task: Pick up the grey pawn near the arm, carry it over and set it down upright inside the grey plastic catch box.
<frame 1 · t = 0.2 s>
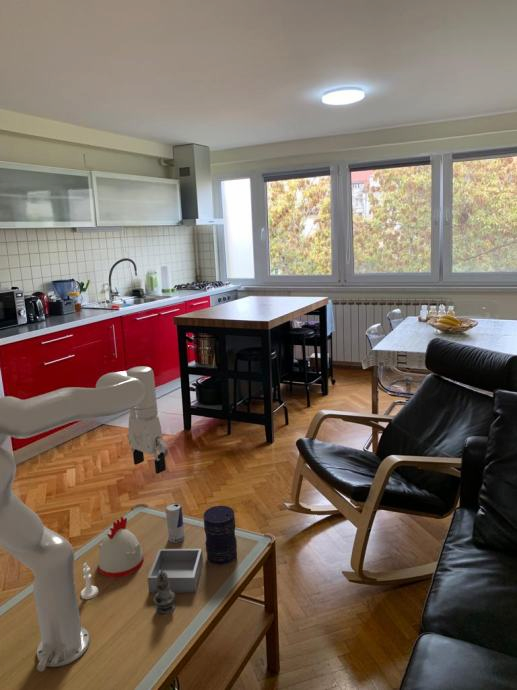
hand: (149, 467, 149), 36 cm above the table, tool pointing down, fingers open, 9 cm apart
kitchen timer: (121, 563, 165), on the table
grey pawn: (165, 608, 145), on the table
storage jar: (222, 556, 166), on the table
catch box: (177, 577, 157), on the table
energy drink: (176, 538, 177), on the table
chess piece: (89, 593, 152), on the table
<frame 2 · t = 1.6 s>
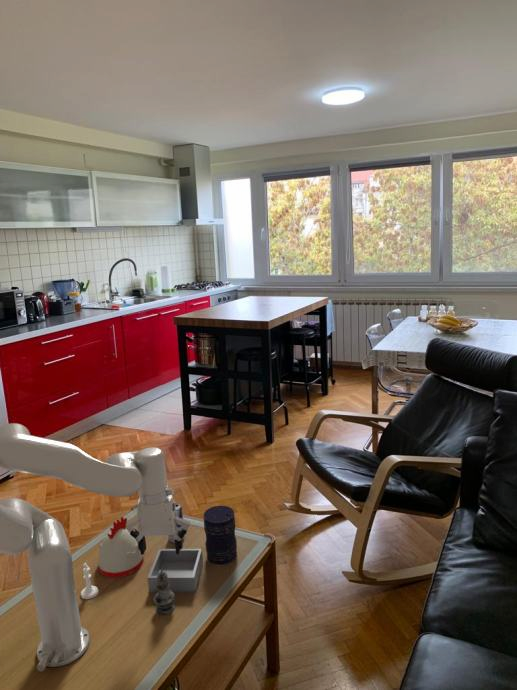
hand: (161, 551, 141), 18 cm above the table, tool pointing down, fingers open, 9 cm apart
nothing on the table moved.
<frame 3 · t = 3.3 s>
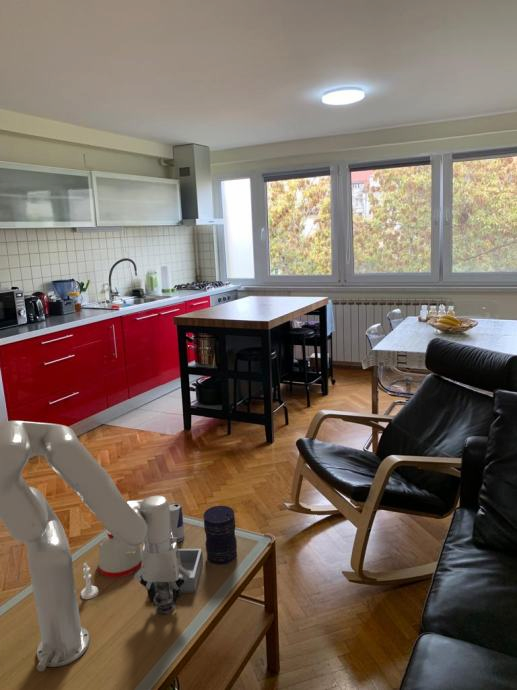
hand: (164, 598, 144), 3 cm above the table, tool pointing down, fingers closed on grey pawn, 5 cm apart
grey pawn: (165, 608, 145), on the table, touching gripper
everything else where it was.
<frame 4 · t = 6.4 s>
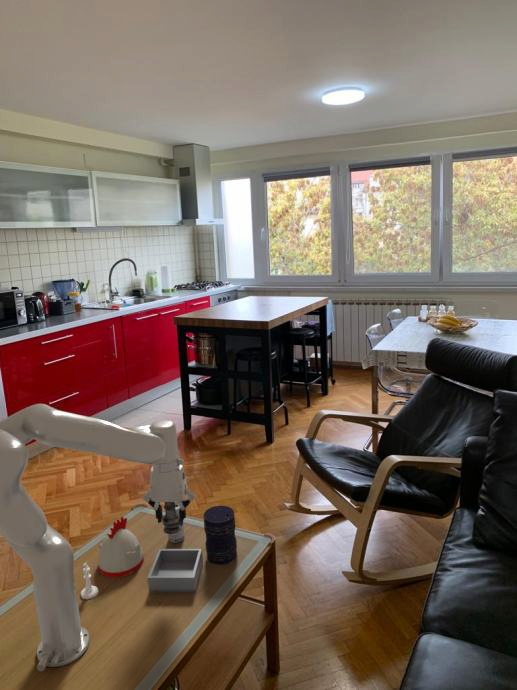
hand: (171, 519, 153), 20 cm above the table, tool pointing down, fingers closed on grey pawn, 5 cm apart
grey pawn: (172, 529, 153), point 16 cm above the table, touching gripper
everything else where it was.
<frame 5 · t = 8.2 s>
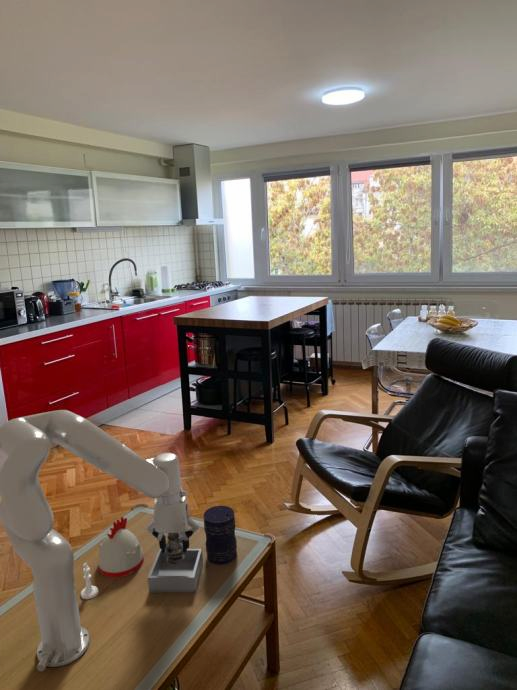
hand: (174, 549, 155), 9 cm above the table, tool pointing down, fingers closed on grey pawn, 5 cm apart
grey pawn: (175, 558, 156), point 6 cm above the table, touching gripper
everything else where it was.
when the fingers open (5 cm above the table, at t = 9.5 s): grey pawn drops 1 cm, resting on catch box.
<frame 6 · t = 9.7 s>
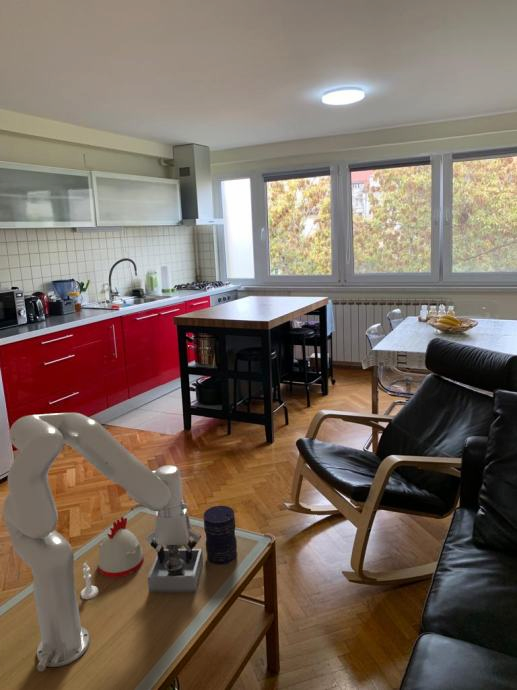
hand: (175, 560, 156), 6 cm above the table, tool pointing down, fingers open, 7 cm apart
grey pawn: (176, 575, 157), point 1 cm above the table, touching catch box
everything else where it was.
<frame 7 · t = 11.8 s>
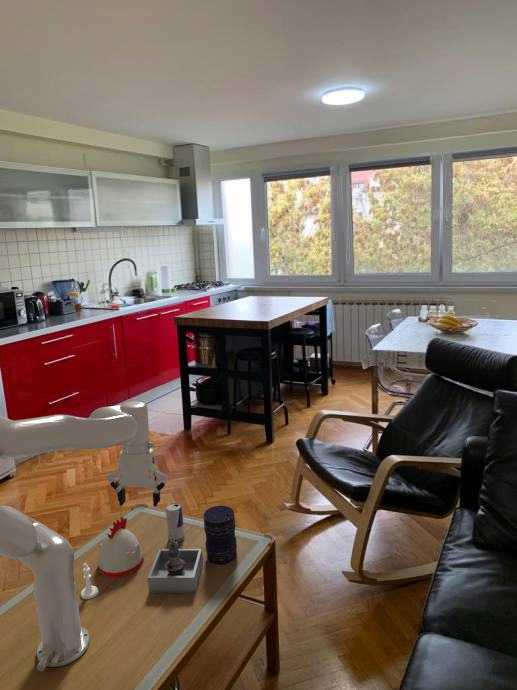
hand: (139, 503, 146), 28 cm above the table, tool pointing down, fingers open, 9 cm apart
nothing on the table moved.
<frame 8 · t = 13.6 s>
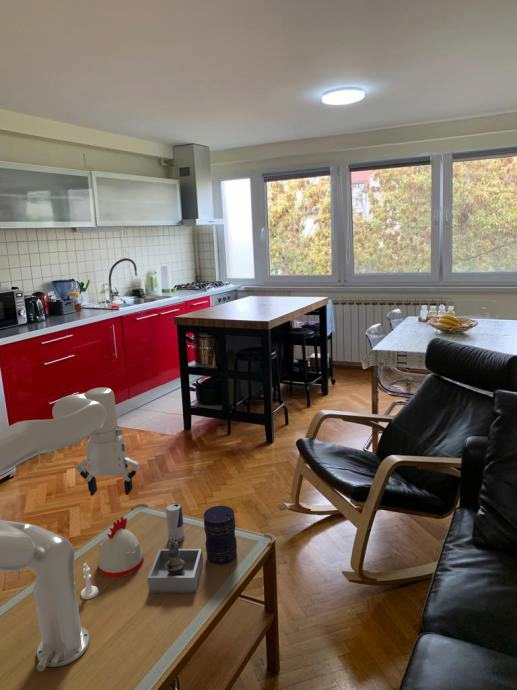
hand: (111, 492, 142), 33 cm above the table, tool pointing down, fingers open, 9 cm apart
nothing on the table moved.
at the end: grey pawn inside the target area on the catch box (0.2 cm from its centre), point 0.8 cm above the catch box's base; grey pawn tilted 0° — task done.
